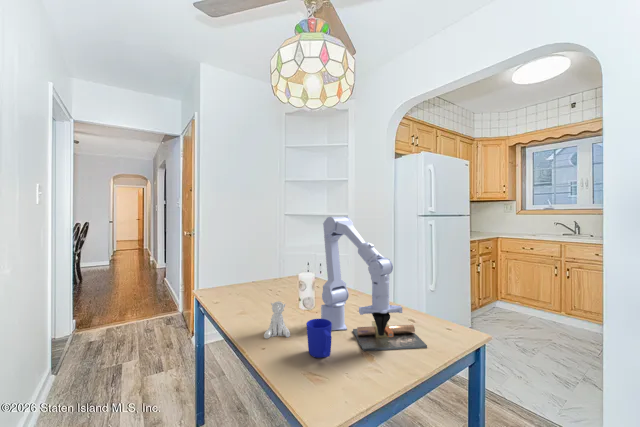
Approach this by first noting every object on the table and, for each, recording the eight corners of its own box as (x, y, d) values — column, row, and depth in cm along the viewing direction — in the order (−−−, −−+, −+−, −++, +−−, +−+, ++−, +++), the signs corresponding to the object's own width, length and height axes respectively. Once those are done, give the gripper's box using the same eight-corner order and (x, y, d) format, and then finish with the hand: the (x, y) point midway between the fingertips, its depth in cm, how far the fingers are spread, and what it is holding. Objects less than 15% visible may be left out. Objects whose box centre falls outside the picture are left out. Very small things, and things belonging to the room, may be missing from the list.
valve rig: (363, 351, 95) (363, 336, 95) (352, 331, 111) (352, 318, 111) (427, 347, 97) (427, 333, 97) (407, 328, 113) (407, 316, 113)
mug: (317, 369, 85) (316, 335, 84) (302, 350, 96) (302, 320, 96) (341, 362, 88) (341, 330, 88) (325, 345, 99) (325, 316, 99)
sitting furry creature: (263, 339, 104) (263, 306, 104) (264, 329, 113) (264, 299, 113) (290, 337, 106) (290, 305, 105) (288, 328, 114) (288, 297, 114)
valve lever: (376, 322, 107) (376, 319, 107) (382, 322, 107) (382, 318, 107) (387, 337, 95) (387, 332, 95) (394, 336, 95) (394, 332, 95)
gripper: (362, 298, 93) (362, 340, 93) (406, 297, 94) (406, 338, 94) (357, 292, 100) (357, 331, 100) (398, 291, 101) (398, 329, 101)
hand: (380, 334), depth 98 cm, fingers closed
